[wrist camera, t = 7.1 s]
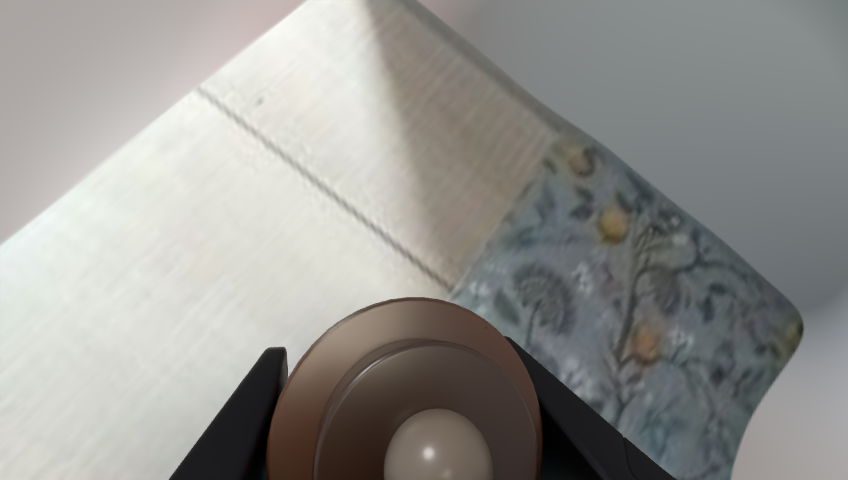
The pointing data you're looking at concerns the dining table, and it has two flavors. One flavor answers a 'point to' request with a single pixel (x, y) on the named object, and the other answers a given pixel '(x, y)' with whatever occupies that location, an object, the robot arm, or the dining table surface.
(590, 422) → the robot arm
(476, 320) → the pepper mill
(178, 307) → the dining table surface
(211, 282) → the dining table surface
